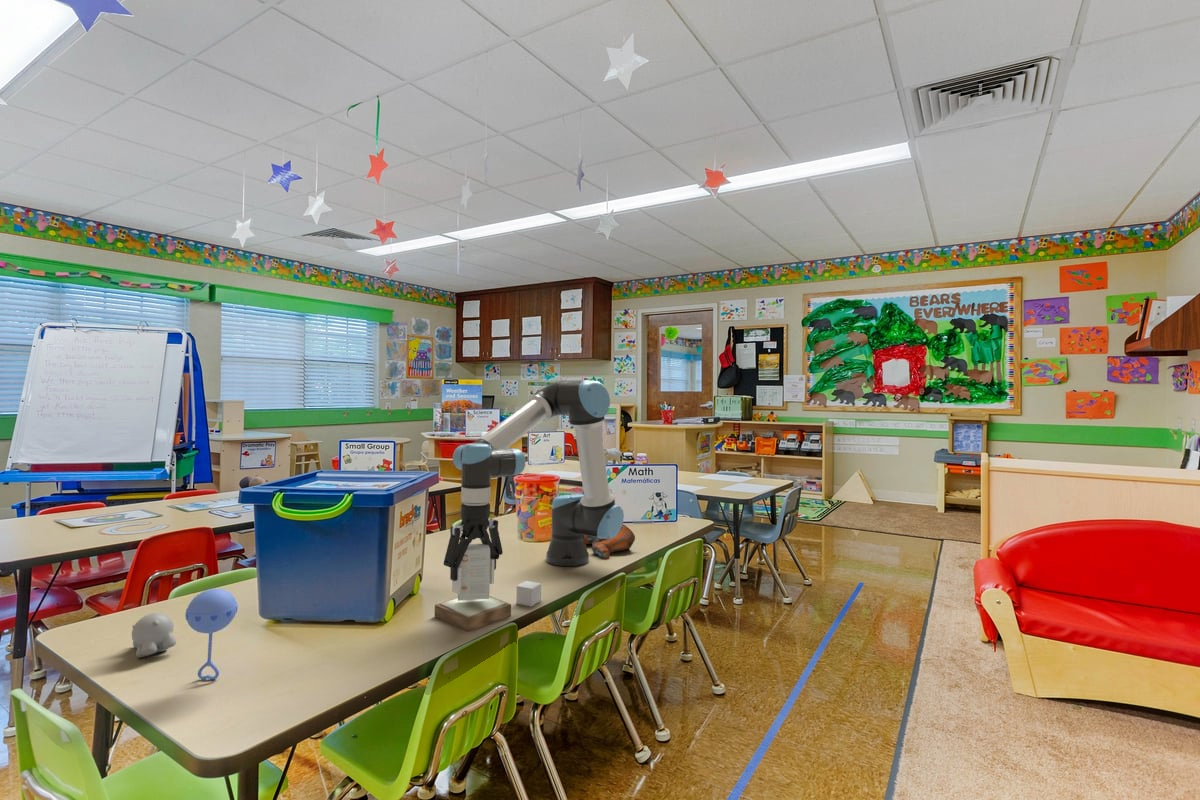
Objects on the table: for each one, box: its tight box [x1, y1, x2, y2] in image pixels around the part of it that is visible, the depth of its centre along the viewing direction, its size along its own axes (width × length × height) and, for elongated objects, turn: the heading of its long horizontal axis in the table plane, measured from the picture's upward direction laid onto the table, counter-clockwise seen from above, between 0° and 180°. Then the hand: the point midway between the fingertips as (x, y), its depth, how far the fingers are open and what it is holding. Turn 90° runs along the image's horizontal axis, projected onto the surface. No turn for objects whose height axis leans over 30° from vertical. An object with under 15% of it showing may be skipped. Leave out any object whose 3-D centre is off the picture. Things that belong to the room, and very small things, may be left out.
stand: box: [434, 595, 512, 632], centre depth 150 cm, size 14×14×3 cm
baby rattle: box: [184, 588, 239, 681], centre depth 114 cm, size 9×9×18 cm
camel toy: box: [584, 523, 636, 559], centre depth 219 cm, size 25×13×17 cm
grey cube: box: [515, 580, 542, 607], centre depth 161 cm, size 5×5×5 cm
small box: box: [457, 543, 491, 601], centre depth 150 cm, size 8×6×13 cm
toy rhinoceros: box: [131, 612, 177, 659], centre depth 126 cm, size 7×12×8 cm, turn 56°
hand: (473, 587), depth 150 cm, fingers closed on small box, 10 cm apart
